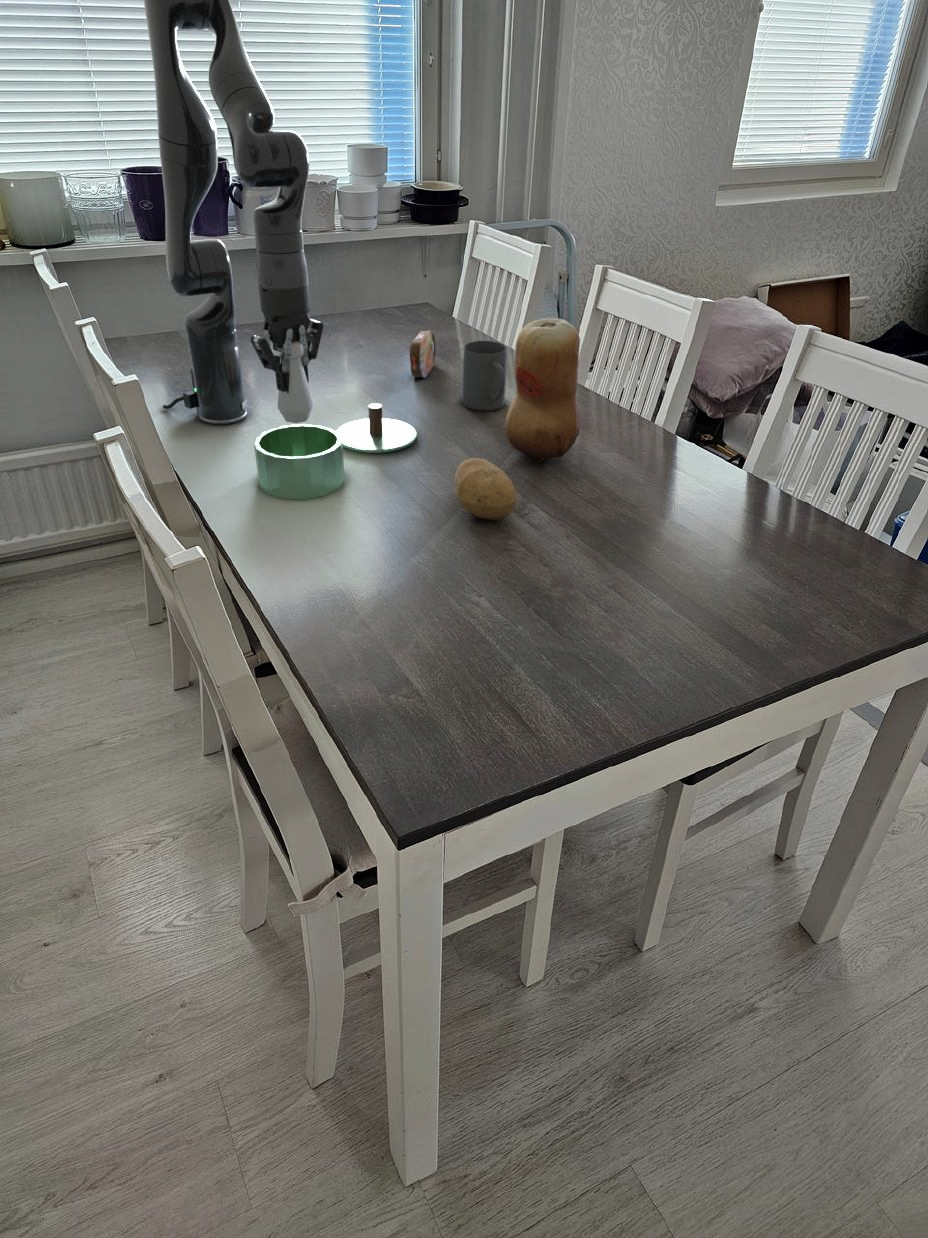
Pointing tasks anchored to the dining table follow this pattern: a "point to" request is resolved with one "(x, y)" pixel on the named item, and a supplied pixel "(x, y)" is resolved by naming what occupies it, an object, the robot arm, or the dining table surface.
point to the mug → (484, 375)
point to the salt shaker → (295, 389)
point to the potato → (484, 489)
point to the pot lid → (376, 433)
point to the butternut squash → (545, 390)
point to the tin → (422, 354)
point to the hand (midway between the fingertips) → (293, 389)
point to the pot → (299, 461)
